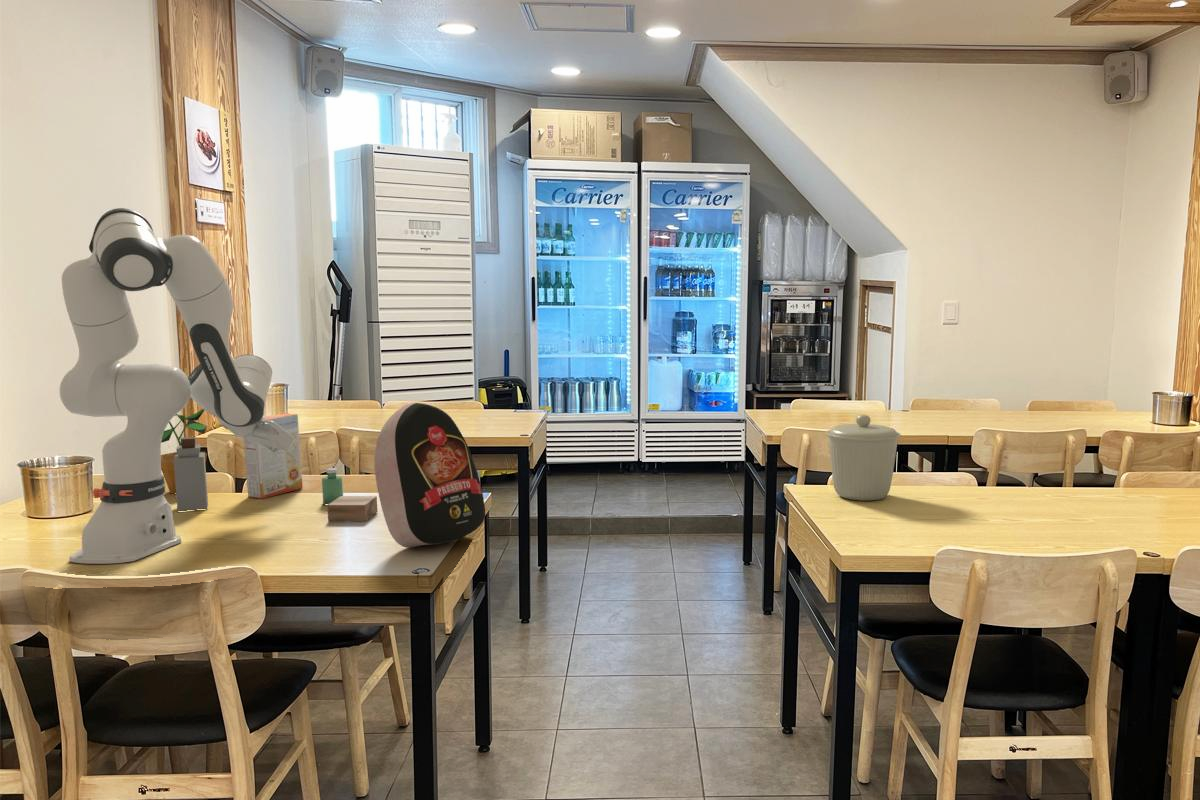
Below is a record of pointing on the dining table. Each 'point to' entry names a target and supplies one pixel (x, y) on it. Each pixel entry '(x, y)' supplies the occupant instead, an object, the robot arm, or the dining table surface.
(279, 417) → the cracker box
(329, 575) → the dining table surface
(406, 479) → the packaged food
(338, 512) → the walnut block
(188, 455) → the perfume bottle
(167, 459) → the potted plant
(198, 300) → the robot arm
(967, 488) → the dining table surface
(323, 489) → the green bottle
